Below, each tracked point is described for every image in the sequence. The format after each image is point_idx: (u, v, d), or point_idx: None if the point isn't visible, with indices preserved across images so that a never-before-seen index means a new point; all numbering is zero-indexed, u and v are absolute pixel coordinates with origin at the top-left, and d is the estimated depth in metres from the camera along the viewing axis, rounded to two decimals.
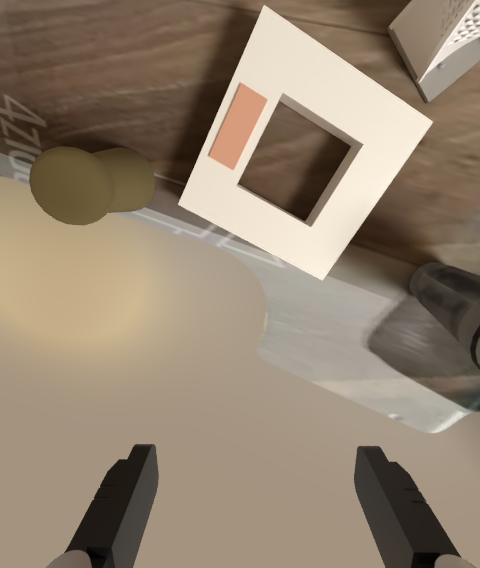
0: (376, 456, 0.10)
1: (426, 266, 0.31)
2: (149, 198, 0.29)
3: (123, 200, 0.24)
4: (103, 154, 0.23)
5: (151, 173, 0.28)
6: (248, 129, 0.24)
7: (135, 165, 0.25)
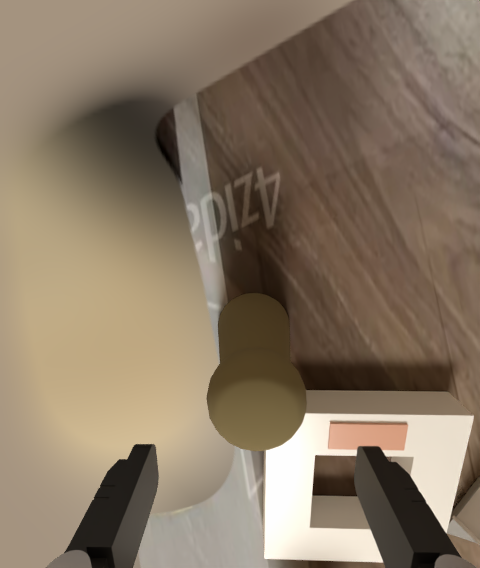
0: (376, 456, 0.10)
1: None
2: None
3: None
4: (289, 353, 0.19)
5: None
6: None
7: None
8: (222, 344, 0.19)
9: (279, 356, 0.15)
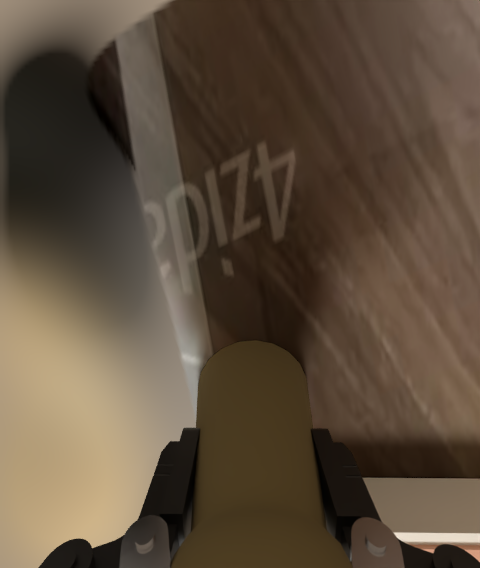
0: (322, 437, 0.11)
1: None
2: None
3: None
4: (318, 468, 0.10)
5: None
6: None
7: None
8: (198, 451, 0.11)
9: (315, 546, 0.06)
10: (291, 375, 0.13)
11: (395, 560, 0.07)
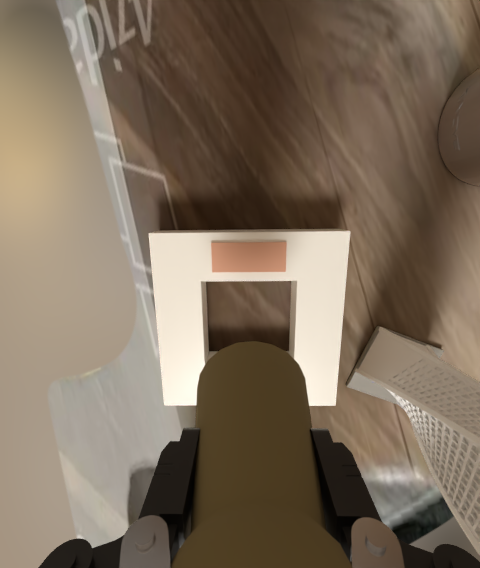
0: (322, 437, 0.11)
1: None
2: None
3: None
4: (317, 468, 0.10)
5: None
6: (253, 267, 0.23)
7: None
8: (197, 452, 0.11)
9: (315, 547, 0.06)
10: (290, 376, 0.13)
11: (395, 560, 0.07)
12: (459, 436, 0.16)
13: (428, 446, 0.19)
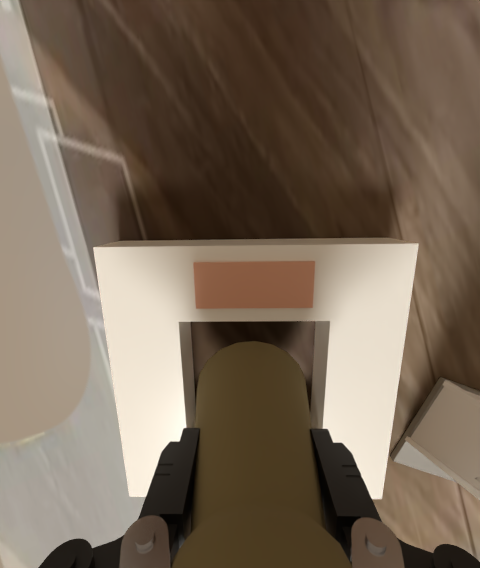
0: (322, 437, 0.11)
1: None
2: None
3: None
4: (317, 468, 0.10)
5: None
6: (261, 301, 0.15)
7: None
8: (197, 452, 0.11)
9: (315, 547, 0.06)
10: (290, 376, 0.13)
11: (395, 560, 0.07)
12: None
13: None
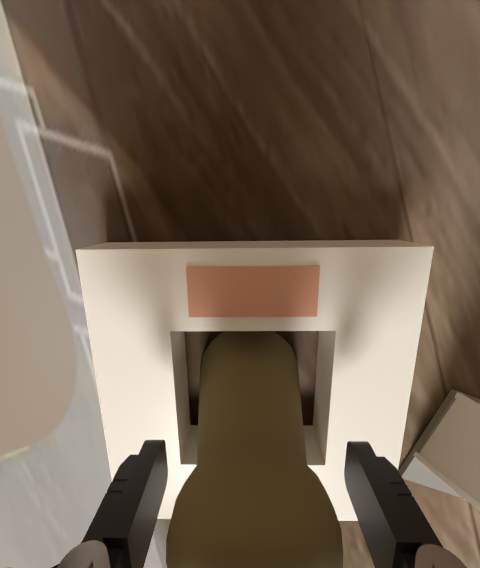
0: (364, 451, 0.10)
1: None
2: None
3: None
4: None
5: None
6: (261, 309, 0.13)
7: None
8: (202, 413, 0.13)
9: (295, 469, 0.08)
10: (283, 355, 0.15)
11: None
12: None
13: None
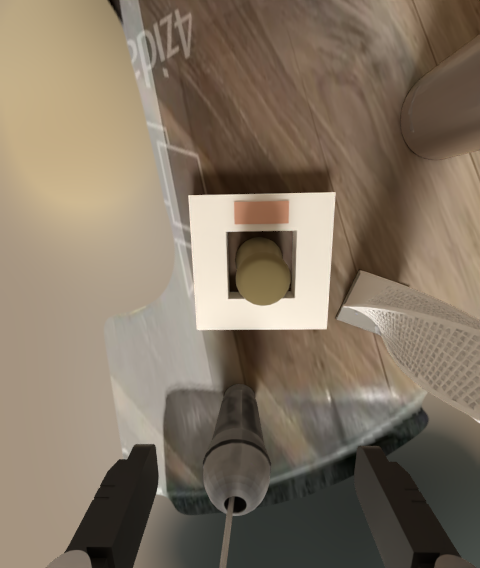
0: (376, 456, 0.10)
1: (247, 388, 0.40)
2: None
3: None
4: None
5: None
6: (265, 220, 0.32)
7: None
8: (241, 260, 0.31)
9: (276, 254, 0.27)
10: (275, 246, 0.34)
11: None
12: (403, 317, 0.24)
13: (388, 338, 0.28)
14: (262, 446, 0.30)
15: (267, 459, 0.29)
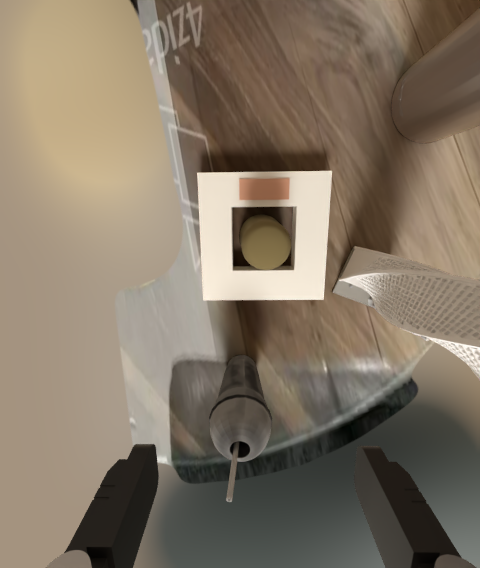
0: (376, 456, 0.10)
1: (249, 358, 0.43)
2: None
3: None
4: None
5: None
6: (267, 196, 0.34)
7: None
8: None
9: None
10: (276, 221, 0.36)
11: None
12: (391, 277, 0.27)
13: (379, 300, 0.31)
14: (264, 402, 0.33)
15: (268, 413, 0.32)
